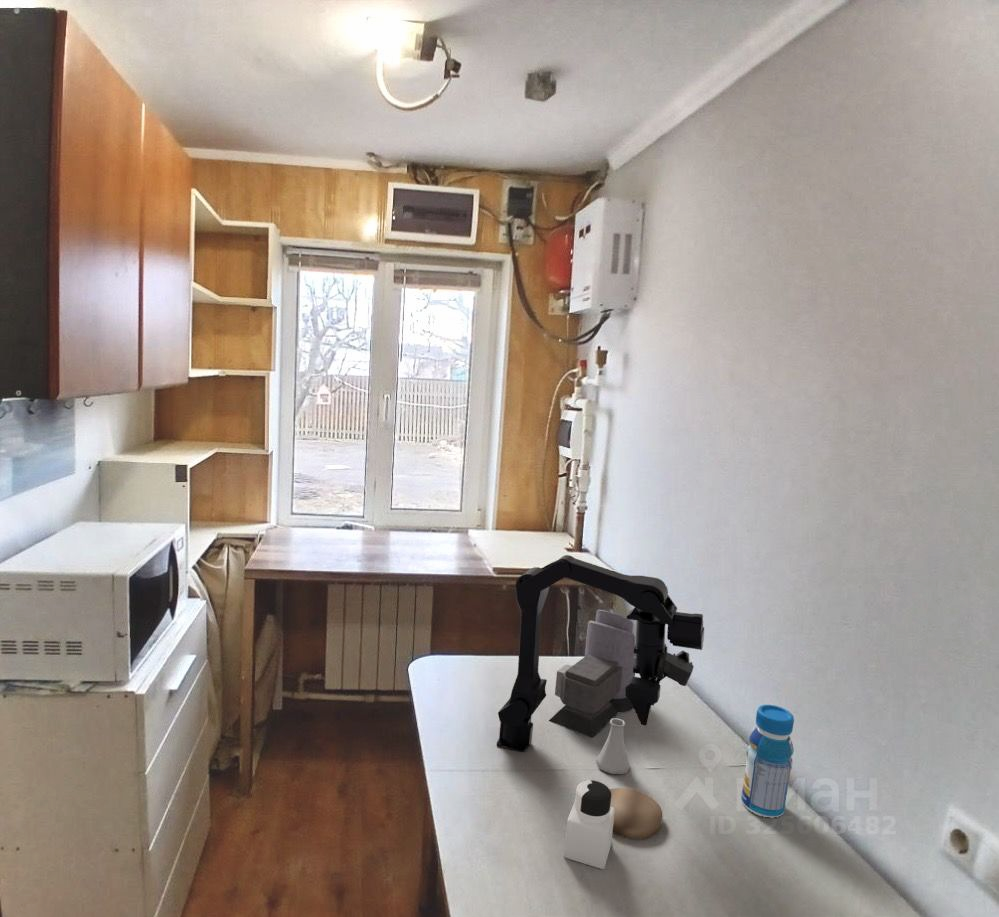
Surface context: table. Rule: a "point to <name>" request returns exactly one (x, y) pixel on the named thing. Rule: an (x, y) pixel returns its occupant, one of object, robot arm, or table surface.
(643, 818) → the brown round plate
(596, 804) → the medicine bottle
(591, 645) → the juicer
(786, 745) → the beverage bottle
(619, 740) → the flask
